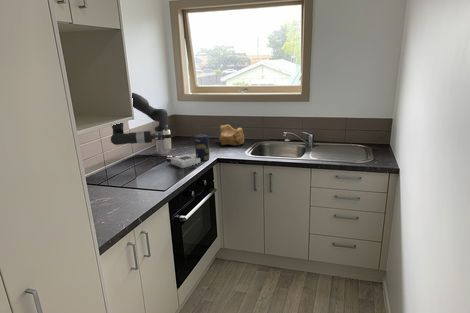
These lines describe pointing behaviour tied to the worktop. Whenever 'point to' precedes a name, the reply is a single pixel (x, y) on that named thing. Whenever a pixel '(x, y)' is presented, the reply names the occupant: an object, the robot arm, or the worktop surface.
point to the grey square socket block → (185, 161)
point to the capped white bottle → (167, 140)
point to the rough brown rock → (231, 135)
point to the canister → (202, 146)
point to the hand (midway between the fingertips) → (171, 135)
